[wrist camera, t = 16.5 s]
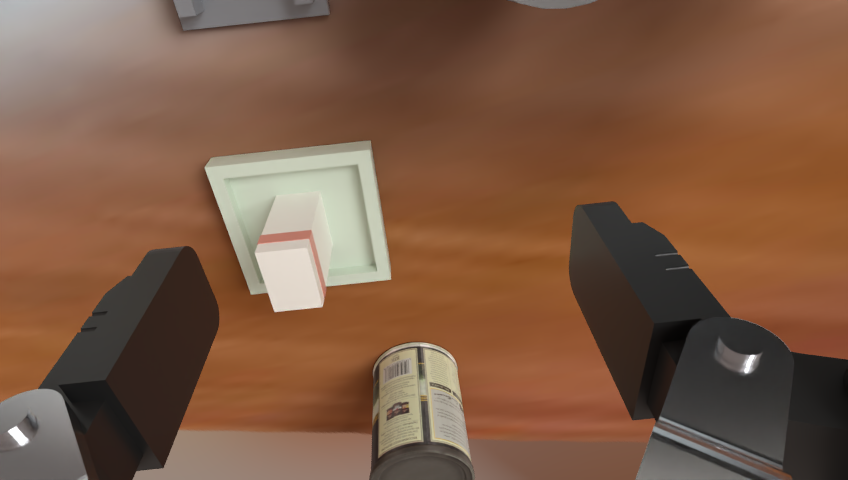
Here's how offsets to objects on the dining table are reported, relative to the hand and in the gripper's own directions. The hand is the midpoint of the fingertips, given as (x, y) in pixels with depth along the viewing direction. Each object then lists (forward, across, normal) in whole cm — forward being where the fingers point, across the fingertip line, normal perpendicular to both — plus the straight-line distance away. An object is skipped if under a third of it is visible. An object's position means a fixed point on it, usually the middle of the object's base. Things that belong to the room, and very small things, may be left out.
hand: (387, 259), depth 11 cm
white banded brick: (+32, +10, +18) cm, 38 cm away
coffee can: (+33, +2, +41) cm, 53 cm away
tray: (+33, +10, +18) cm, 39 cm away
